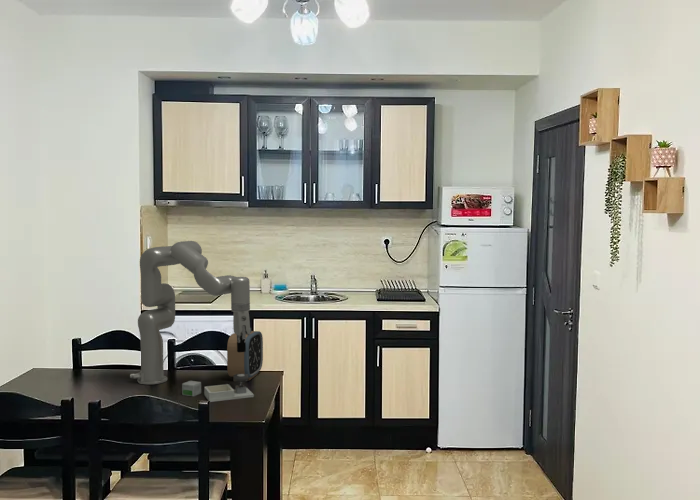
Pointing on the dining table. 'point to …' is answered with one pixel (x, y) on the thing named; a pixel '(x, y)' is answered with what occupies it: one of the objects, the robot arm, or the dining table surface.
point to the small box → (191, 388)
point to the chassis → (226, 392)
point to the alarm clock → (245, 355)
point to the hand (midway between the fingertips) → (241, 351)
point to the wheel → (240, 378)
